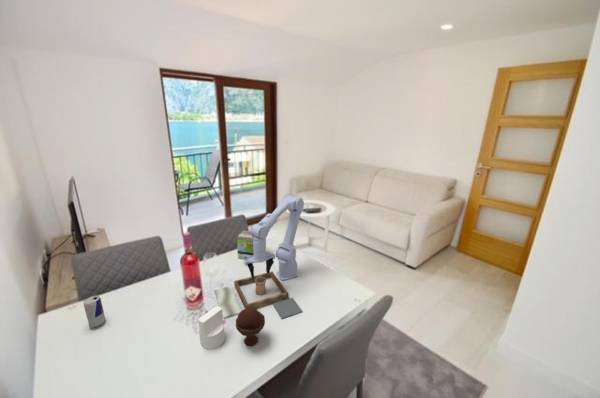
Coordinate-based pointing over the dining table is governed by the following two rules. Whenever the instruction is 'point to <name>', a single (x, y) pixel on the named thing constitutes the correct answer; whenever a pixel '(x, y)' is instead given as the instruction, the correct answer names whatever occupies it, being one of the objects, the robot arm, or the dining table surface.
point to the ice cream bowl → (250, 325)
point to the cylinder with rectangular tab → (212, 329)
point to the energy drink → (94, 312)
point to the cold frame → (231, 304)
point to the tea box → (245, 245)
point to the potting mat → (287, 308)
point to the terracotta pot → (260, 285)
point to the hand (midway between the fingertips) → (260, 274)
